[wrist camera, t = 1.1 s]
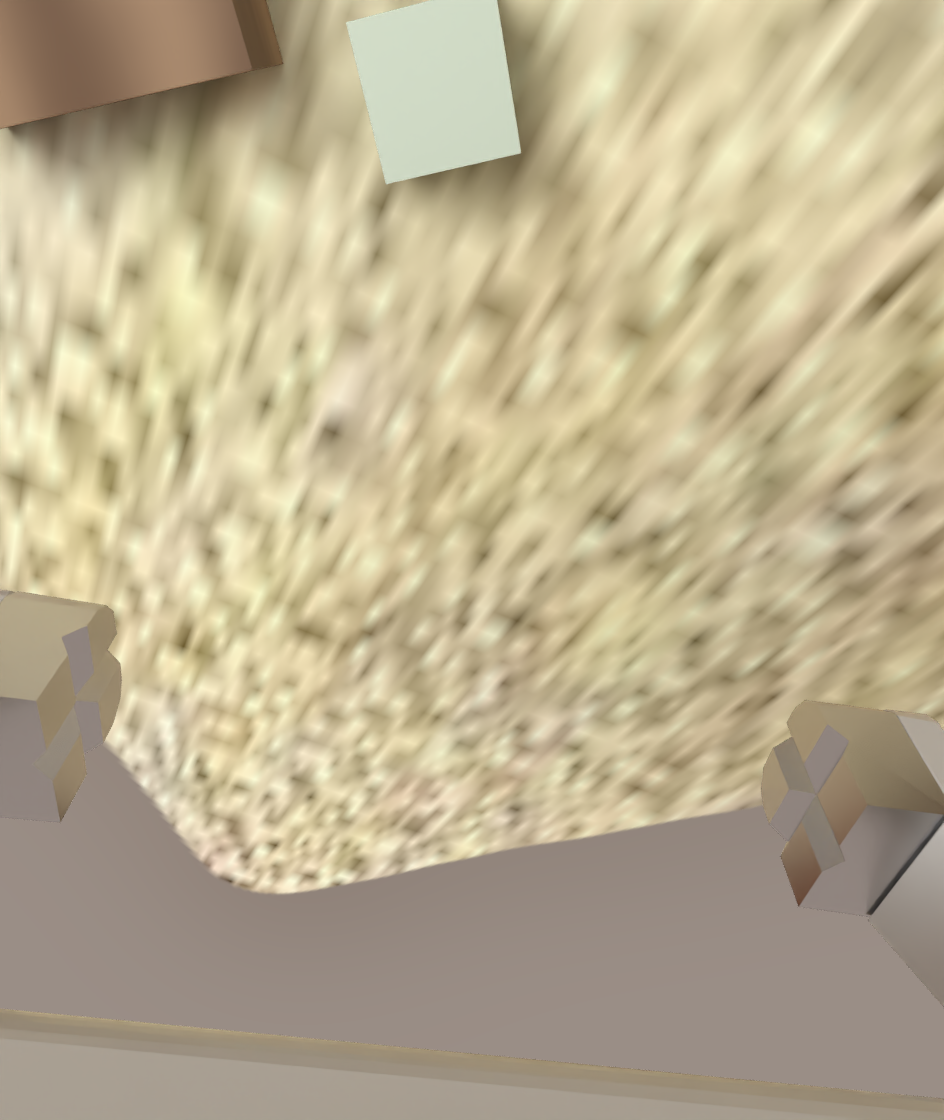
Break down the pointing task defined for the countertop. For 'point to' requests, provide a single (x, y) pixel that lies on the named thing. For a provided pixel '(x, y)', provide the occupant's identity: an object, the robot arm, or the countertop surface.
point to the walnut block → (122, 50)
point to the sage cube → (436, 86)
